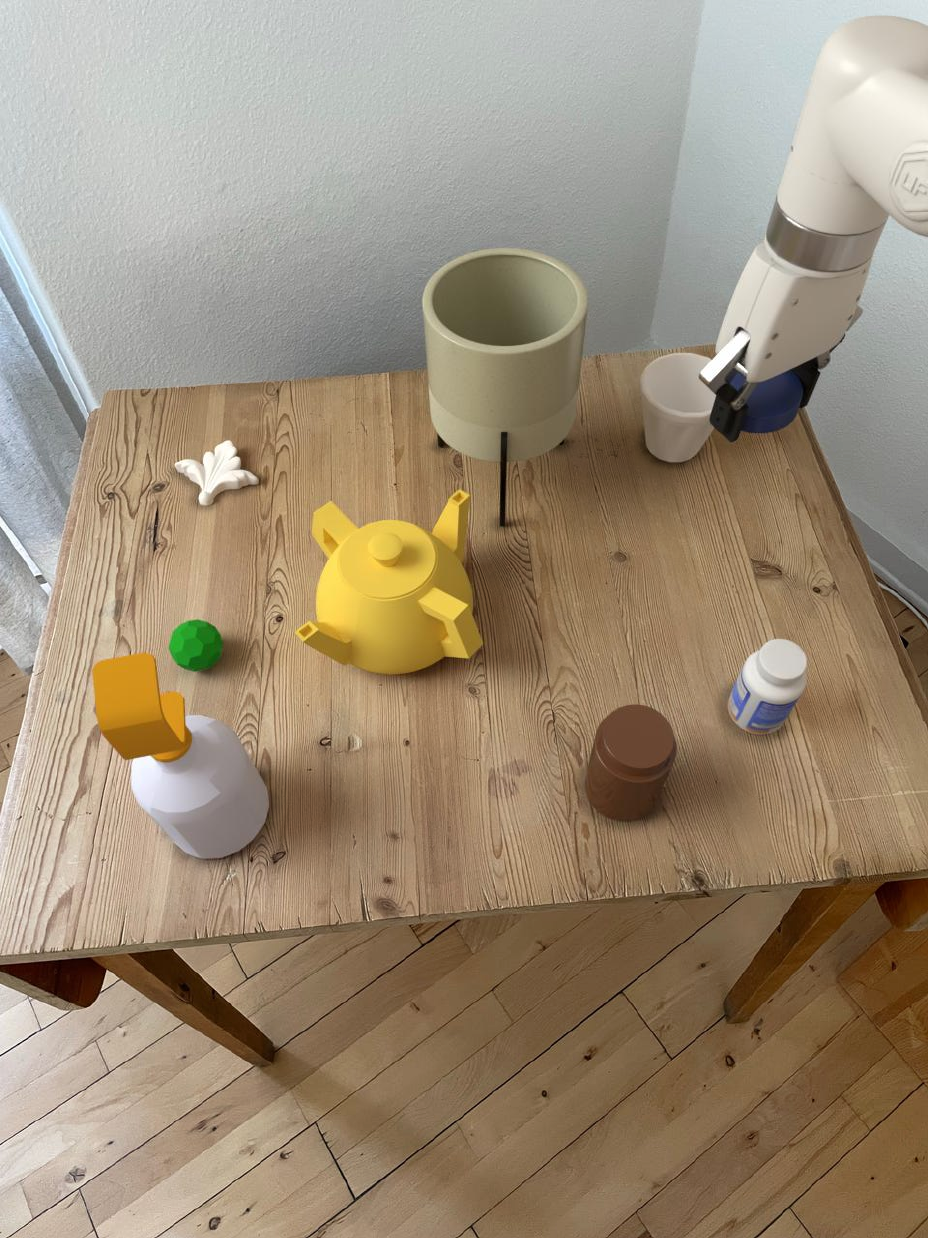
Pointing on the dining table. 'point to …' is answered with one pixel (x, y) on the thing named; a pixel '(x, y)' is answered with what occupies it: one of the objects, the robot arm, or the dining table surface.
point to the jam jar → (630, 762)
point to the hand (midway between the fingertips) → (757, 413)
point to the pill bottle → (768, 687)
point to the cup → (676, 406)
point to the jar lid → (771, 402)
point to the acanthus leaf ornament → (217, 472)
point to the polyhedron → (195, 645)
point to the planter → (504, 354)
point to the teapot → (393, 592)
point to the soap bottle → (179, 760)
